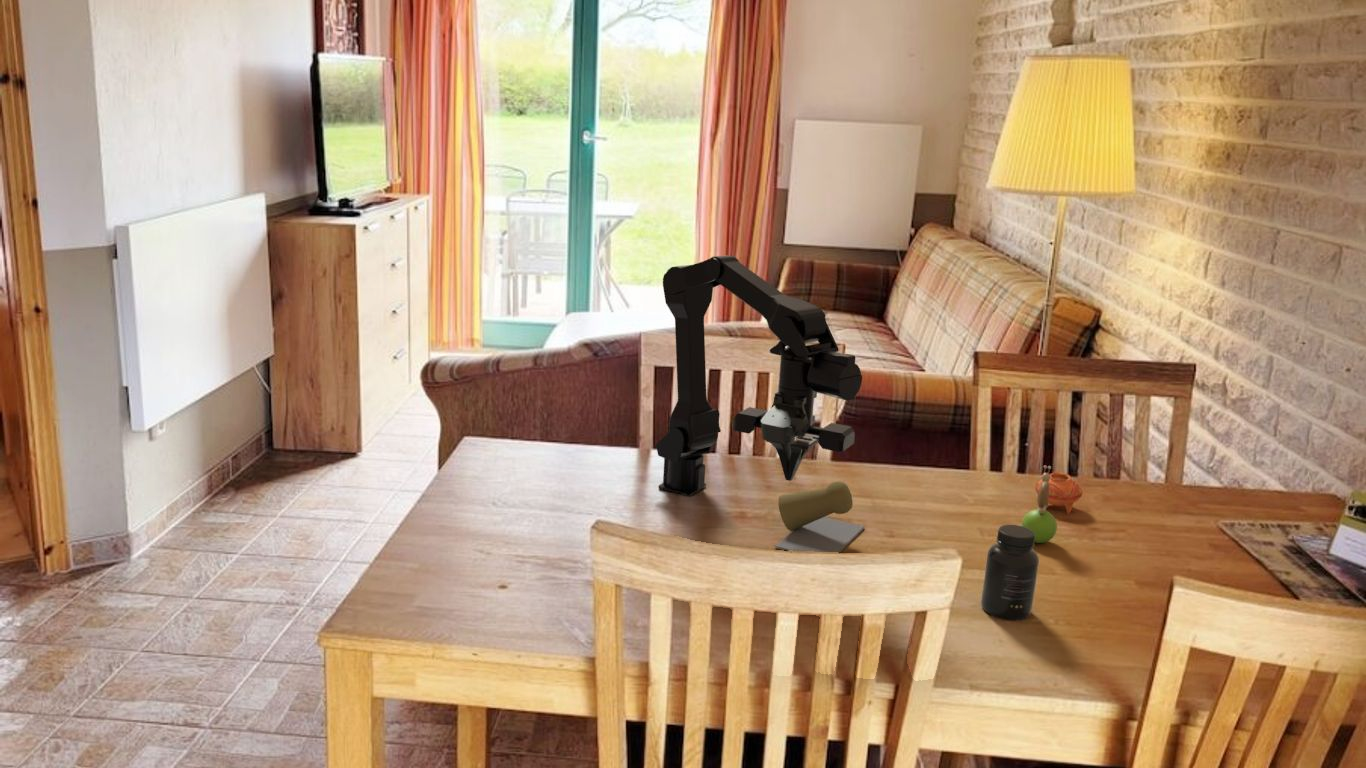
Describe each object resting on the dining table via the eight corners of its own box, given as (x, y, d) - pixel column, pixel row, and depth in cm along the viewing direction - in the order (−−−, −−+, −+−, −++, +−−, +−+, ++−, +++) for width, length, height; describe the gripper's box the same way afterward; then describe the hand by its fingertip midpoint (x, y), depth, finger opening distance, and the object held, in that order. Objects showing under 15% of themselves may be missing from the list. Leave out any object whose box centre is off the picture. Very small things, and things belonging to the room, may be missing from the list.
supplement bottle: (973, 598, 153) (983, 520, 149) (1019, 599, 153) (1031, 521, 150) (990, 621, 146) (1002, 540, 143) (1038, 622, 147) (1051, 541, 143)
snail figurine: (1054, 536, 177) (1065, 467, 174) (1054, 550, 171) (1065, 479, 168) (1020, 530, 179) (1030, 462, 176) (1019, 544, 173) (1029, 474, 170)
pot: (1092, 510, 189) (1092, 476, 186) (1058, 525, 186) (1058, 491, 184) (1058, 493, 196) (1058, 460, 193) (1026, 507, 193) (1025, 474, 190)
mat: (775, 548, 166) (775, 545, 166) (813, 516, 180) (813, 514, 180) (829, 562, 162) (830, 559, 162) (864, 528, 176) (864, 526, 176)
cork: (790, 537, 171) (854, 519, 167) (775, 504, 170) (839, 485, 166) (796, 521, 177) (859, 503, 173) (782, 489, 176) (845, 470, 171)
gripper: (720, 386, 165) (714, 482, 169) (834, 407, 157) (825, 507, 161) (750, 372, 174) (744, 463, 178) (859, 391, 166) (850, 486, 170)
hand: (789, 479), depth 172 cm, fingers closed
